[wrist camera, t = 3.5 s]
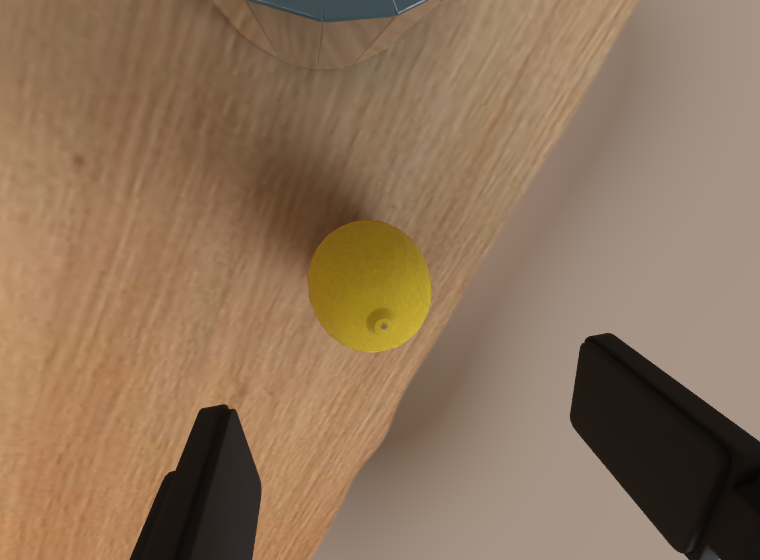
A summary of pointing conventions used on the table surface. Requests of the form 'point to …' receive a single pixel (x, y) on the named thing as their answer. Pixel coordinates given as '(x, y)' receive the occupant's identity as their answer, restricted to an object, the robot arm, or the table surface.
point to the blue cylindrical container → (324, 27)
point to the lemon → (369, 286)
